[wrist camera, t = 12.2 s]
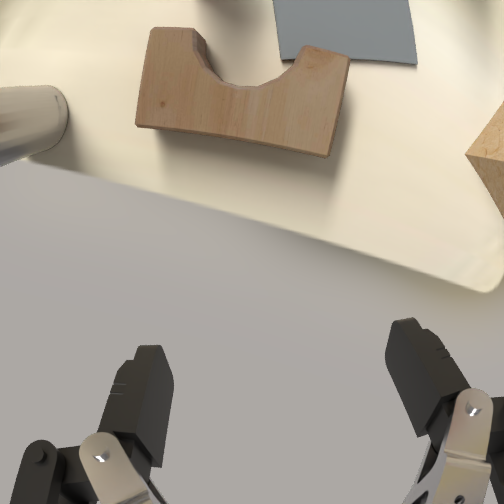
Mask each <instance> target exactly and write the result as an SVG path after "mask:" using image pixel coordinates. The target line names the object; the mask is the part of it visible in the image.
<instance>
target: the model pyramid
mask: <svg viewBox="0 0 504 504" xmlns="http://www.w3.org/2000/svg"><path fill="white" fill-rule="evenodd" d="M465 155H466V157H467V158H468V160H469V161H470V163H471V164H472V166H473V167H474V169H475V170H476V172H477V173H478V175H479V177H480V178H481V180H482V181H483V183H484V185H485V186H486V188H487V190H488V191H489V193H490V195H491V197H492V198H493V200H494V202H495V204H496V205H497V207H498V209H499V211H500V213H501V215H502V217H503V218H504V102H503V103H502V105H501V106H500V107H499V109H498V110H497V112H496V113H495V115H494V116H493V117H492V119H491V120H490V121H489V123H488V124H487V126H486V127H485V128H484V130H483V131H482V132H481V134H480V135H479V136H478V138H477V139H476V140H475V142H474V143H473V144H472V146H471V147H470V148H469V149H468V151H467V152H466V153H465Z"/></svg>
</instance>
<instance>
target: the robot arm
mask: <svg viewBox="0 0 504 504" xmlns="http://www.w3.org/2000/svg"><path fill="white" fill-rule="evenodd" d="M67 119H68V109H67V104H66V101H65V98H64V96H63V95H62V93H61V92H60V91H59V90H58V89H56V88H55V87H52V86H47V85H40V86H15V87H2V88H0V167H2V166H4V165H7V164H9V163H11V162H14V161H17V160H20V159H22V158H25V157H28V156H31V155H34V154H36V153H39V152H42V151H45V150H48V149H50V148H52V147H53V146H55V145H56V144H57V143H58V142H59V140H60V139H61V137H62V136H63V133H64V131H65V129H66V125H67ZM385 361H386V365H387V369H388V371H389V373H390V375H391V377H392V379H393V382H394V384H395V386H396V388H397V391H398V393H399V395H400V397H401V399H402V402H403V404H404V407H405V409H406V411H407V413H408V415H409V418H410V421H411V423H412V425H413V428H414V430H415V433H416V435H417V437H421V436H424V435H426V434H428V435H429V437H430V439H431V440H430V441H429V443H428V446H427V449H426V452H425V455H424V458H423V460H422V463H421V466H420V468H419V471H418V474H417V477H416V479H415V481H414V484H413V486H412V488H411V490H410V492H409V493H408V495H407V496H406V498H405V499H404V501H403V503H402V504H483V502H484V498H485V494H486V490H487V486H488V483H489V478H490V481H491V484H492V487H493V490H494V493H495V495H496V498H497V502H498V504H504V397H494V398H490V397H489V395H488V394H486V393H485V392H484V391H482V390H480V389H476V388H471V387H470V386H469V384H468V382H467V381H466V379H465V377H464V376H463V374H462V372H461V371H460V369H459V368H458V366H457V365H456V363H455V361H454V360H453V358H452V357H450V354H449V352H448V351H447V349H445V346H444V345H443V343H442V342H441V340H440V339H439V337H438V336H437V335H435V334H434V333H433V332H431V331H430V330H429V329H422V328H421V326H420V324H419V323H418V321H417V320H416V319H415V318H413V317H412V318H407V319H401V320H396V321H394V322H393V323H392V326H391V330H390V335H389V339H388V343H387V347H386V351H385ZM173 391H174V380H173V375H172V372H171V369H170V367H169V364H168V362H167V359H166V356H165V353H164V351H163V349H162V346H161V345H140V346H139V347H138V348H137V351H136V354H135V357H134V360H126V361H125V363H124V364H123V365H122V366H121V367H120V368H119V370H118V371H117V374H116V377H115V379H114V385H112V388H111V391H110V395H109V397H108V400H107V403H106V406H105V409H104V412H103V416H102V419H101V422H100V425H99V428H98V431H97V433H94V434H92V435H90V436H88V437H87V438H86V439H85V440H84V441H83V442H82V444H81V445H80V446H74V447H66V448H59V449H56V447H55V446H54V445H53V444H51V443H50V442H49V441H46V440H37V441H35V442H33V443H31V444H30V445H29V446H28V447H27V448H26V450H25V452H24V455H23V458H22V461H21V464H20V468H19V471H18V474H17V478H16V482H15V485H14V489H13V493H12V497H11V501H10V504H96V503H97V501H100V503H101V504H168V502H167V501H166V500H165V498H164V497H163V495H162V494H161V492H160V491H159V490H158V488H157V487H156V485H155V484H154V482H153V481H152V479H151V478H150V471H151V467H160V468H162V462H163V454H164V448H165V440H166V434H167V428H168V421H169V415H170V409H171V403H172V397H173Z"/></svg>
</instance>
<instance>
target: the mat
mask: <svg viewBox="0 0 504 504" xmlns="http://www.w3.org/2000/svg"><path fill="white" fill-rule="evenodd" d="M273 5H274V12H275V19H276V27H277V34H278V42H279V50H280V58H281V60H292V59H296V57H297V55H298V53H299V51H300V50H301V48H302V47H303V46H305V45H310V46H314V47H318V48H322V49H326V50H330V51H333V52H337V53H340V54H344V55H347V56H348V57H349V58H350V59H359V60H376V61H388V62H399V63H408V64H418V61H417V53H416V45H415V38H414V31H413V25H412V19H411V13H410V8H409V3H408V0H273Z"/></svg>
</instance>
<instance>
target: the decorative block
mask: <svg viewBox="0 0 504 504" xmlns="http://www.w3.org/2000/svg"><path fill="white" fill-rule="evenodd" d="M350 61H351V60H350V58H349V57H348V56H347V55H344V54H340V53H337V52H333V51H330V50H326V49H322V48H318V47H314V46H310V45H305V46H303V47H302V48H301V50H300V51H299V53H298V55H297V57H296V59H295V61H294V63H293V65H292V66H291V67H290V68H289V69H288V70H287V71H285V72H284V73H283V74H282V75H281V76H280V77H278V78H276V79H274V80H272V81H269V82H267V83H265V84H262V85H260V86H258V87H255V86H236V85H233V84H230V83H226V82H224V81H223V80H222V79H221V78H220V77H219V76H217V75H216V74H215V73H214V71H213V70H212V68H211V66H210V64H209V62H208V60H207V58H206V41H205V39H204V38H203V37H202V36H201V35H200V34H199V33H198V32H197V31H196V30H195V29H194V28H180V27H154V28H153V29H152V30H151V31H150V36H149V40H148V45H147V50H146V56H145V61H144V66H143V72H142V78H141V84H140V90H139V97H138V104H137V111H136V119H135V125H136V126H137V127H140V128H150V129H160V130H170V131H178V132H186V133H194V134H201V135H208V136H215V137H221V138H227V139H234V140H239V141H245V142H251V143H256V144H262V145H267V146H272V147H277V148H282V149H287V150H291V151H296V152H300V153H305V154H309V155H314V156H318V157H322V158H327V157H328V156H330V152H331V148H332V144H333V140H334V135H335V131H336V127H337V122H338V118H339V113H340V109H341V104H342V99H343V95H344V90H345V85H346V81H347V76H348V71H349V66H350Z"/></svg>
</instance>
